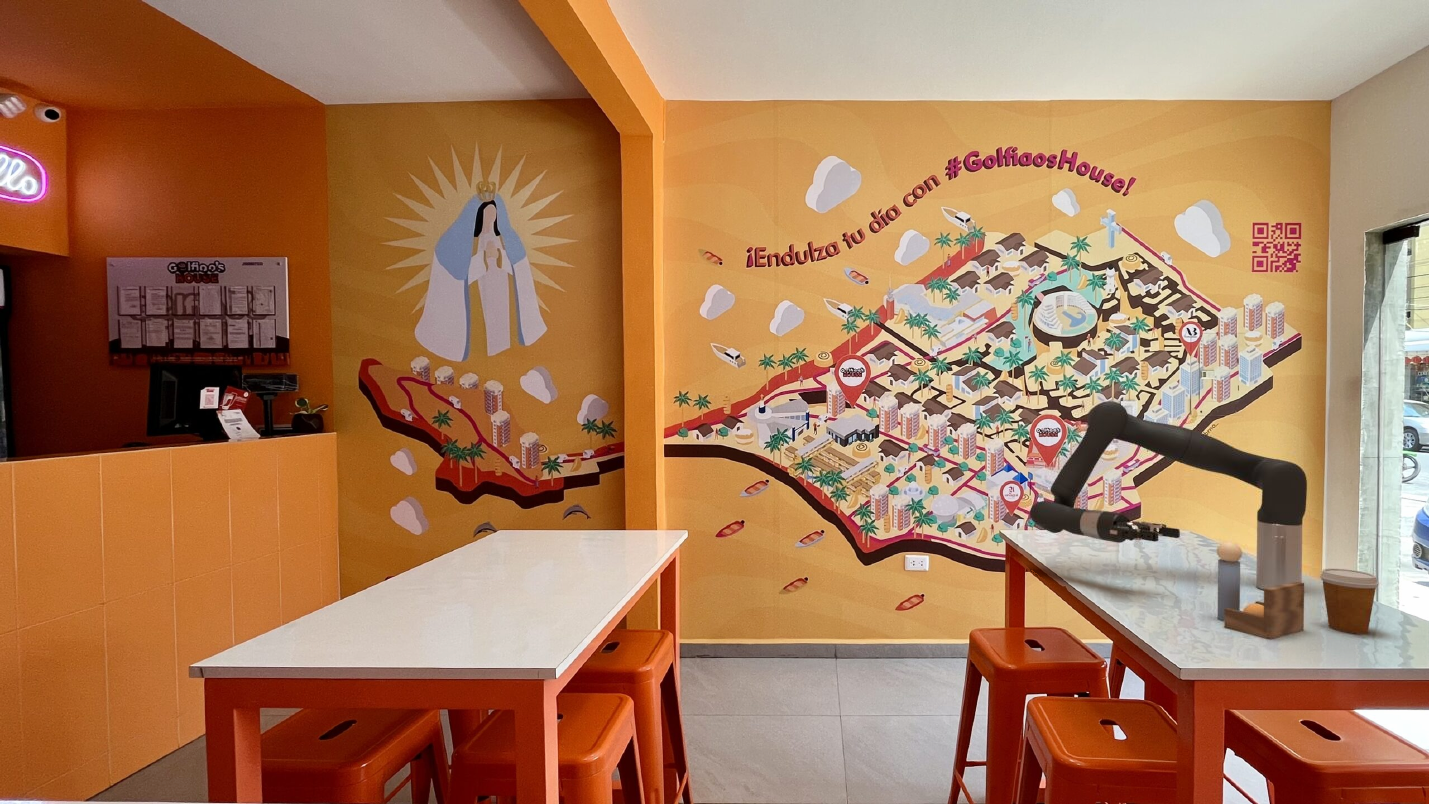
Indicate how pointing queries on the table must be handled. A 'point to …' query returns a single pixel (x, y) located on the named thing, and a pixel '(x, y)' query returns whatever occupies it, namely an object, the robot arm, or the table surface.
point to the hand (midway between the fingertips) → (1168, 535)
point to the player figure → (1228, 577)
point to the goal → (1272, 613)
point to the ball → (1254, 609)
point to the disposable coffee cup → (1349, 599)
